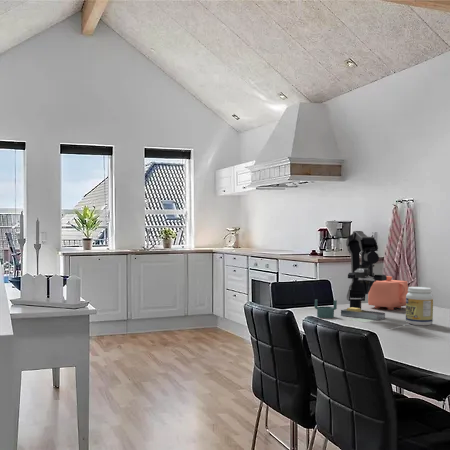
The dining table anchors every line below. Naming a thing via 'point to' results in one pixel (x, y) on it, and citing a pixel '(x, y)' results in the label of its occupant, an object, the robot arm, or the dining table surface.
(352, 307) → the block
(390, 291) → the teapot
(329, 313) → the bracket
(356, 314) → the rail
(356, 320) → the pad
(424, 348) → the dining table surface
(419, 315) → the supplement tub
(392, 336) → the dining table surface
